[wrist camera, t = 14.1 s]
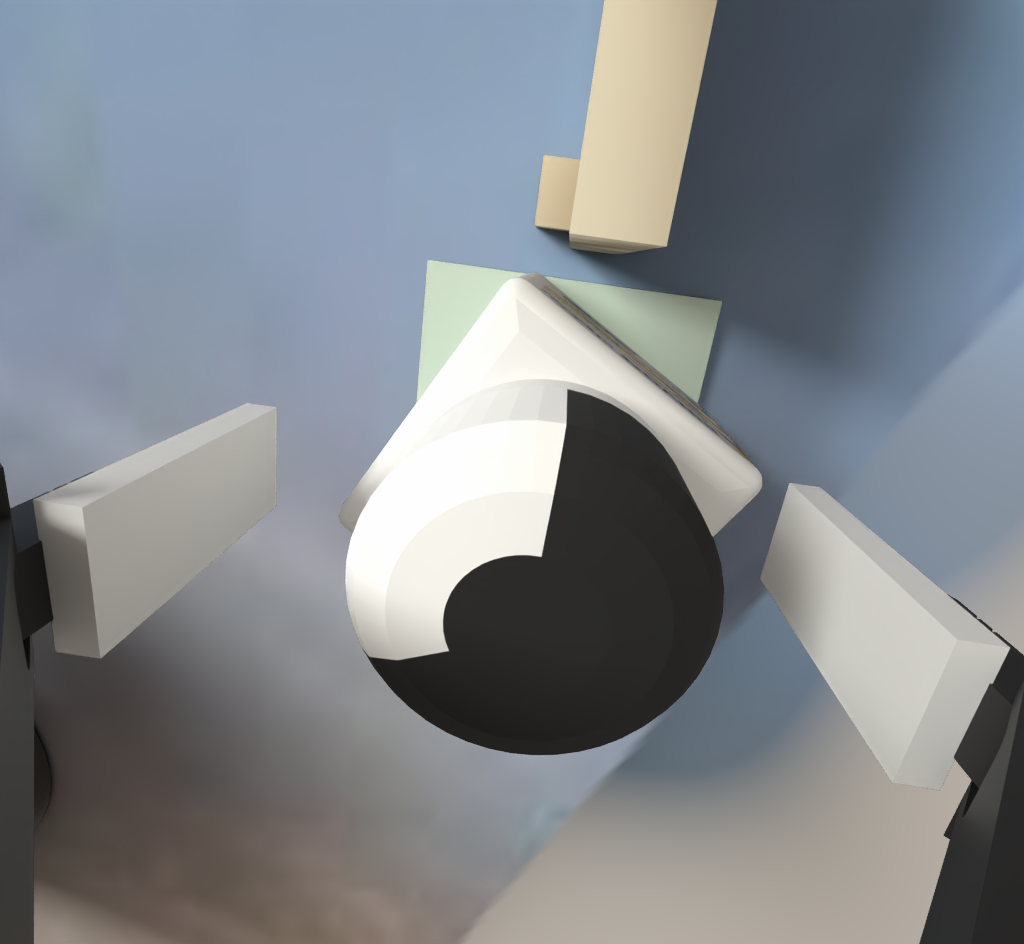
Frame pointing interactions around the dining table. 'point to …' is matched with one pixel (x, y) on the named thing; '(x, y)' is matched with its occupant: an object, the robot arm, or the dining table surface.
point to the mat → (624, 311)
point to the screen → (631, 129)
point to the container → (543, 534)
